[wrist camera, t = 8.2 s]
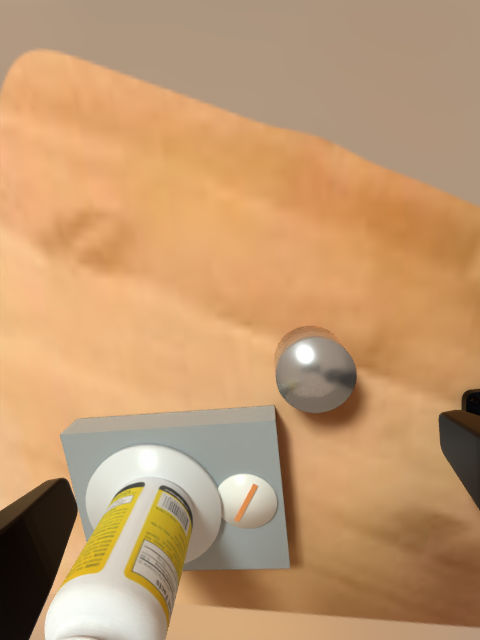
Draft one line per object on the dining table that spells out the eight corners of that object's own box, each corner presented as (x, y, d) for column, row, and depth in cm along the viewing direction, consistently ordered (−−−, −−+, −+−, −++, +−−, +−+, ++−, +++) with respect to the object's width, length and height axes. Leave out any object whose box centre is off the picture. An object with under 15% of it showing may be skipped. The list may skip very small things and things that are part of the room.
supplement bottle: (110, 535, 22) (-9, 756, 12) (118, 465, 21) (-6, 649, 11) (189, 552, 22) (131, 790, 12) (202, 482, 21) (148, 684, 11)
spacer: (342, 322, 20) (354, 335, 18) (345, 388, 21) (357, 410, 18) (271, 328, 21) (272, 342, 18) (277, 392, 22) (279, 415, 19)
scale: (274, 405, 22) (275, 426, 19) (288, 542, 24) (290, 577, 22) (77, 418, 23) (54, 439, 21) (107, 547, 25) (90, 580, 23)
